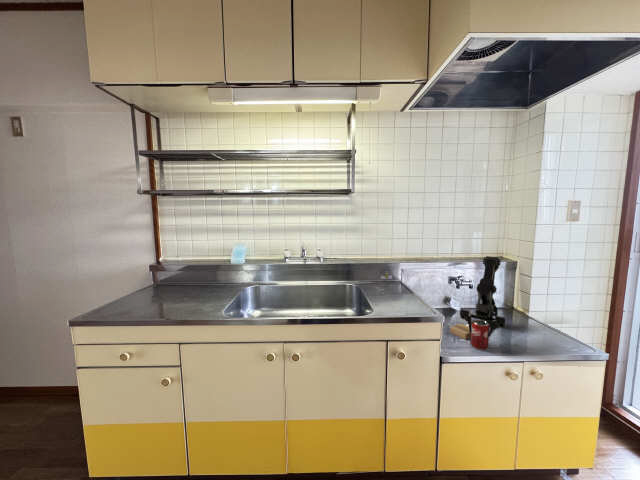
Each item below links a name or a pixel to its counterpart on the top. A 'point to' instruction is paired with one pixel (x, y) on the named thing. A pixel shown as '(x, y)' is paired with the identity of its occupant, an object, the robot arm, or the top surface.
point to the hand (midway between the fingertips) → (479, 334)
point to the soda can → (479, 334)
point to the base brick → (461, 331)
